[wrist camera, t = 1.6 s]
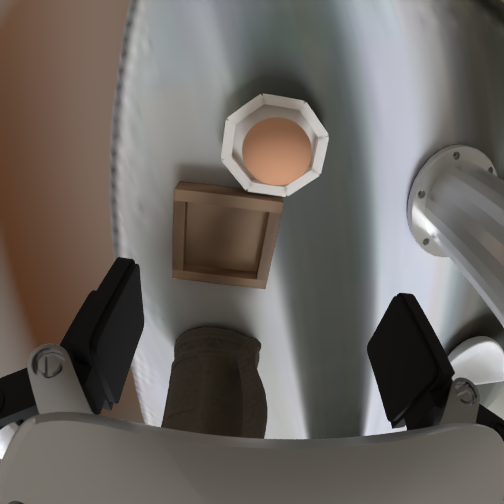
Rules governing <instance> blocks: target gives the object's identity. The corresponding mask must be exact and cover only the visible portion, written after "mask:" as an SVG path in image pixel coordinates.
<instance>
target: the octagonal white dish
mask: <svg viewBox="0 0 504 504" xmlns="http://www.w3.org/2000/svg"><path fill="white" fill-rule="evenodd" d="M273 117H280V118H285V119H289V120H291V121H293V122H295V123H297V124H298V125H299V126H300V127H301V128H303V130H304V131H305V132H306V134H307V135H308V137H309V140H310V142H311V147H312V157H311V161H310V164H309V166H308V168H307V170H306V171H305V173H304V174H303V175H302V176H301V177H300V178H298V179H297V180H295V181H294V182H291V183H289V184H285V185H270V184H266V183H263V182H261V181H259V180H258V179H256V178H255V177H254V176H253V175H252V174H251V173H250V172H249V171H248V169H247V168H246V166H245V164H244V161H243V156H242V145H243V141H244V138H245V136H246V134H247V133H248V131H249V130H250V129H251V128H252V127H253V126H254V125H255V124H256V123H258V122H260V121H262V120H264V119H267V118H273ZM328 140H329V137H328V133H327V132H326V130H325V129H324V127H323V126H322V124H321V123H320V121H319V120H318V118H317V117H316V115H315V114H314V112H313V111H312V109H311V108H310V106H309V105H308V104H307V102H304V101H303V100H299V99H294V98H288V97H284V96H277V95H271V94H265V93H263V95H261V94H259V95H258V96H256V97H255V98H253V99H252V100H250V101H249V102H247V103H245V104H244V105H243V106H241V107H240V108H239V109H238V110H236V111H235V112H234V113H232V114H231V115H230V116H228V117H227V119H226V122H225V130H224V137H223V145H222V153H221V159H222V162H223V163H224V165H225V166H226V167H227V168H228V169H229V171H230V172H231V173H232V174H233V176H234V177H235V178H236V179H237V180H238V182H239V183H240V184H241V185H242V187H243V188H244V189H245V190H247V189H248V192H255V193H262V194H269V195H276V196H283V197H286V195H287V196H289V195H291V194H292V193H294V192H295V191H297V190H298V189H300V188H301V187H303V186H304V185H306V184H307V183H309V182H311V181H312V180H314V179H315V178H317V177H318V176H319V174H321V171H322V166H323V162H324V158H325V153H326V149H327V144H328ZM318 173H319V174H318Z"/></svg>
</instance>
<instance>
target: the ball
mask: <svg viewBox="0 0 504 504" xmlns="http://www.w3.org/2000/svg"><path fill="white" fill-rule="evenodd" d="M242 156H243V161H244V164H245V166H246V168H247V169H248V171H249V172H250V173H251V174H252V175H253V176H254V177H255V178H256V179H258V180H259V181H261V182H263V183H266V184H270V185H285V184H289V183H291V182H294V181H295V180H297V179H298V178H300V177H301V176H302V175H303V174H304V173H305V171H306V170H307V168H308V166H309V164H310V161H311V157H312V147H311V142H310V140H309V137H308V135H307V134H306V132H305V131H304V130H303V128H301V127H300V126H299V125H298V124H297V123H295V122H293V121H291V120H289V119H285V118H280V117H273V118H267V119H264V120H262V121H260V122H258V123H256V124H255V125H254V126H253V127H252V128H251V129H250V130H249V131H248V133H247V134H246V136H245V138H244V141H243V145H242Z"/></svg>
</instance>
